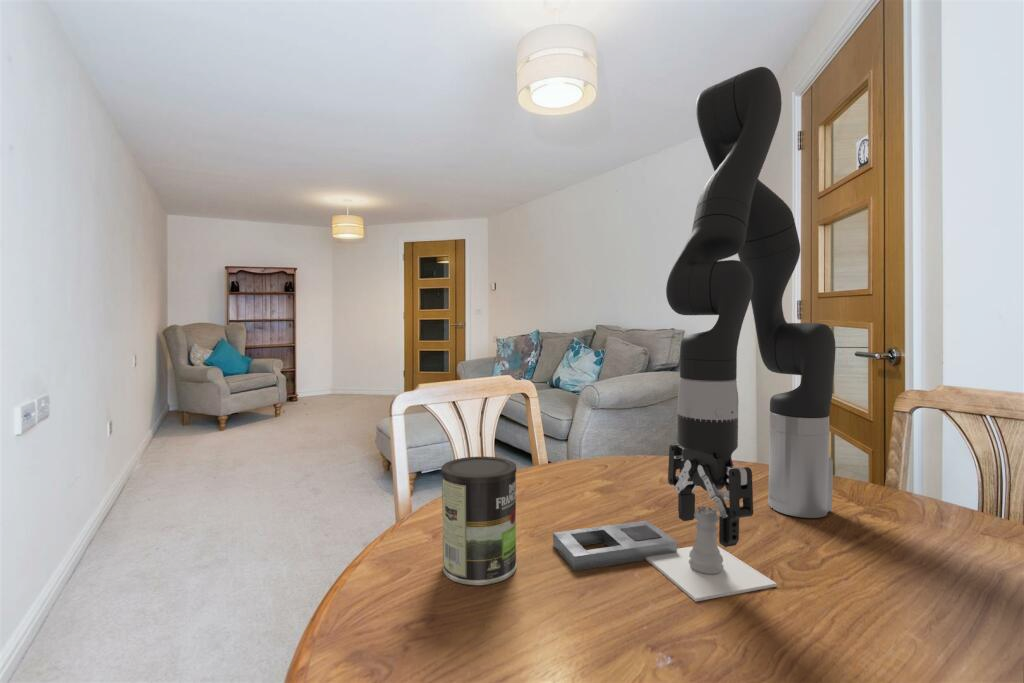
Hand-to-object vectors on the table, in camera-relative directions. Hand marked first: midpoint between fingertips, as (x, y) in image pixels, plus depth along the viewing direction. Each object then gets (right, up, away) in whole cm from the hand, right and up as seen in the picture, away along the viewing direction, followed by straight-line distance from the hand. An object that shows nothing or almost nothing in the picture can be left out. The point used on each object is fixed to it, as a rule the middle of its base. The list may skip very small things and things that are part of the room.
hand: (706, 531), depth 67 cm
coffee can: (-31, -6, +2) cm, 31 cm away
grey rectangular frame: (-11, -5, +6) cm, 14 cm away
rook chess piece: (0, -5, 0) cm, 5 cm away
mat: (0, -5, 0) cm, 5 cm away
